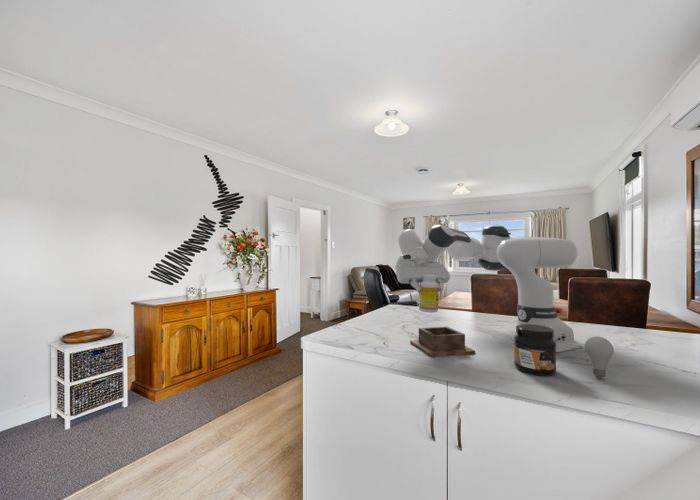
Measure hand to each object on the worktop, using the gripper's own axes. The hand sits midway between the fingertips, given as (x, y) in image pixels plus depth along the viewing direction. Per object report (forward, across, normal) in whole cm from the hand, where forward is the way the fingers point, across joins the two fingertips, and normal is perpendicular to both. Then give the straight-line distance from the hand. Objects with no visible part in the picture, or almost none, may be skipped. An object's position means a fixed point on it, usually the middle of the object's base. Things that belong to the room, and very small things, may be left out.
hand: (430, 290), depth 110 cm
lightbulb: (+39, -31, +12) cm, 51 cm away
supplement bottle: (+5, 0, -6) cm, 8 cm away
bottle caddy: (+16, -4, -12) cm, 20 cm away
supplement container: (+33, -19, +5) cm, 38 cm away
